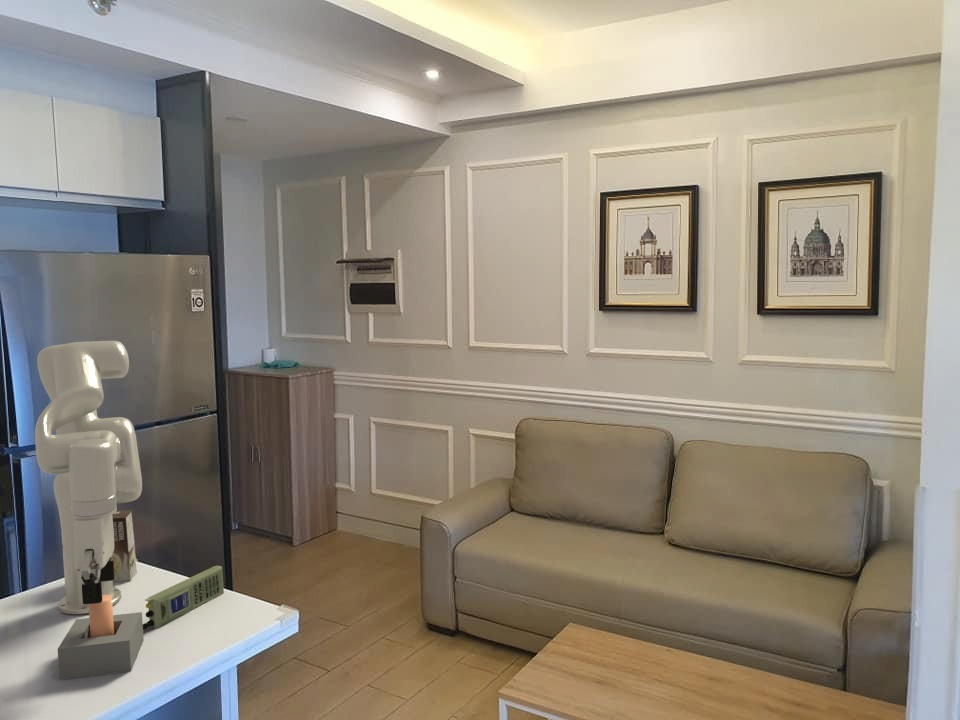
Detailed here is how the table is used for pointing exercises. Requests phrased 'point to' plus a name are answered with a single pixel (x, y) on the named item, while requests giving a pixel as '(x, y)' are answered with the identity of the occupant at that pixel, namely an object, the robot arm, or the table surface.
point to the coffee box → (124, 546)
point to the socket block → (100, 648)
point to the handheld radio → (184, 597)
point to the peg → (101, 617)
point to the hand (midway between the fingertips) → (99, 591)
